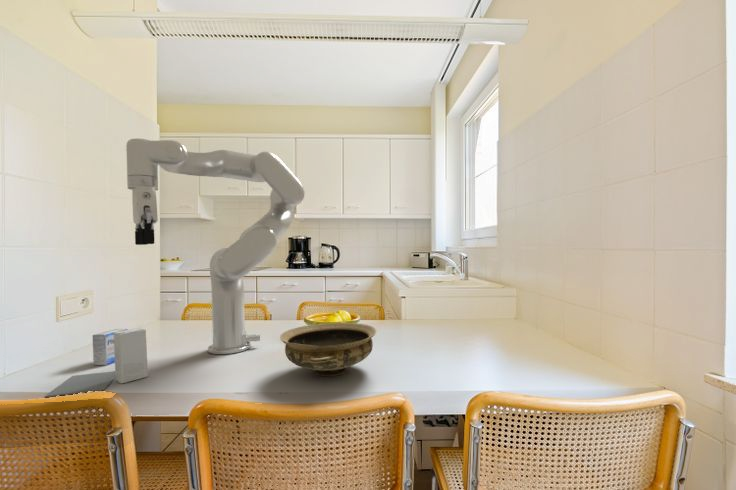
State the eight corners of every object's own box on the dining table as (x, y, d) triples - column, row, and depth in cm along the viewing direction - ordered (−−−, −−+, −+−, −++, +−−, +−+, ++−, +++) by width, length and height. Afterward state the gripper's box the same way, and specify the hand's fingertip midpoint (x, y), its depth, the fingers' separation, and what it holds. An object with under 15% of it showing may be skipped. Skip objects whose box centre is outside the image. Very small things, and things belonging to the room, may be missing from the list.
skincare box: (141, 374, 98) (140, 326, 98) (148, 377, 96) (147, 328, 96) (114, 381, 94) (112, 331, 94) (120, 384, 91) (119, 333, 91)
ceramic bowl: (295, 355, 112) (295, 320, 112) (377, 353, 111) (376, 319, 111) (264, 395, 82) (263, 348, 82) (376, 394, 81) (375, 346, 81)
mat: (122, 371, 101) (122, 370, 101) (103, 390, 87) (103, 389, 87) (72, 377, 97) (72, 375, 97) (44, 398, 84) (44, 396, 84)
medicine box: (106, 366, 106) (105, 334, 106) (92, 365, 107) (91, 334, 107) (129, 357, 114) (128, 328, 114) (116, 357, 115) (115, 328, 115)
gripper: (164, 180, 104) (165, 243, 104) (152, 188, 118) (153, 244, 118) (132, 178, 100) (133, 244, 100) (123, 187, 113) (125, 245, 113)
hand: (144, 244), depth 109 cm, fingers open, 9 cm apart
